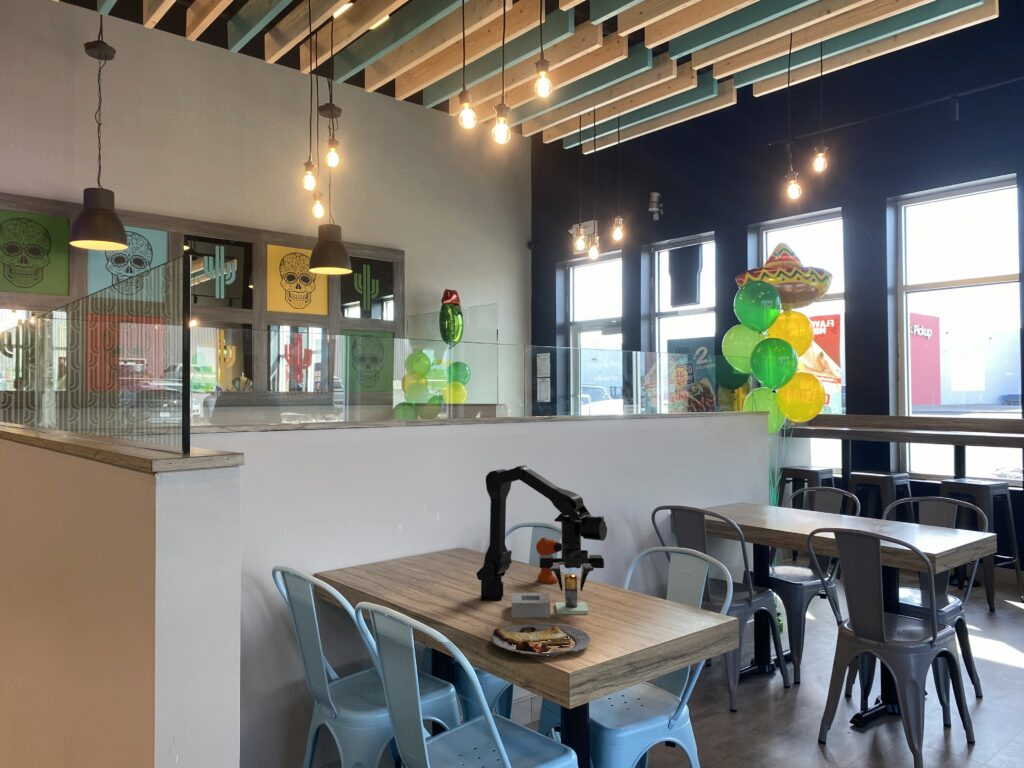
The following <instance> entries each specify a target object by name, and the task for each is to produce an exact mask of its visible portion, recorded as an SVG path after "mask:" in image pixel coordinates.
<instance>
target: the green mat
mask: <svg viewBox="0 0 1024 768" xmlns="http://www.w3.org/2000/svg"><path fill="white" fill-rule="evenodd" d="M555 612H556V615H589V609H588V606H587V602H586V601H578V607H576V608H567V607H565V601H555Z"/></svg>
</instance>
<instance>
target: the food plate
mask: <svg viewBox="0 0 1024 768" xmlns="http://www.w3.org/2000/svg"><path fill="white" fill-rule="evenodd" d="M568 636H569V637H570V639H571V638H572V640H573V641H574V642H575V646H574V645H573V646H574V647H573V646H572V647H573V648H569V649H566V650H563V651H560V650H559V651H555V652H553V651H552V652H550V653H542V652H547V651H549V650H550V649H551V648H550V647H548V646H562V645H570V643H571V644H572V642H571V641H570V639H564V638H568ZM490 640H491V642H492V643H493V645H494V646H496V647H497V648H501V649H504V650H507V651H508V652H510V653H512V652H513V653H517V654H520V655H525V654H528V656H535V655H536V656H539V655H540V656H539V657H547V655H551V656H554V657H556V656H558V655H564V654H566V653H571V652H579V651H582V650H583V649H586V648H587V647H588V646H589V643H590V642H591V637H590V635H588V633H586V632H585V631H583V630H582V629H580V628H576V627H573V626H570V625H566V624H559V623H544V622H541V623H534V622H529V623H528V622H527V623H521V624H516V625H510V626H506V627H502V628H500V627H497V628H494V630H493V634H492V635H491V637H490ZM548 640H551V641H548ZM540 641H546V642H542V645H539V644H536V643H533V642H540ZM512 644H513V645H516V650H515V649H512V648H511V647H514V646H513V645H512ZM570 646H571V645H570ZM555 655H556V656H555ZM551 656H550V657H551Z"/></svg>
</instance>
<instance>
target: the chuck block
mask: <svg viewBox="0 0 1024 768" xmlns="http://www.w3.org/2000/svg"><path fill="white" fill-rule="evenodd" d="M511 618H551V597H550V593H549V592H511Z"/></svg>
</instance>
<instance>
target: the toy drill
mask: <svg viewBox="0 0 1024 768" xmlns="http://www.w3.org/2000/svg"><path fill="white" fill-rule="evenodd" d="M535 547H536V548H535V549H536V552H537V553H538V555H539V556H541V555H553V554H557V553H559V552H562V547H561V542H559V541H557V540H554V539H547V538H546V537H542V538H540V540H538V541H537V543H536V545H535ZM537 581H538V582H539V581H540V583H542V584H546V583H547V585H552V584H557V583H558V579H557V577H556V576H554V575H553V571H550V568H540V573H538V575H537Z"/></svg>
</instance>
